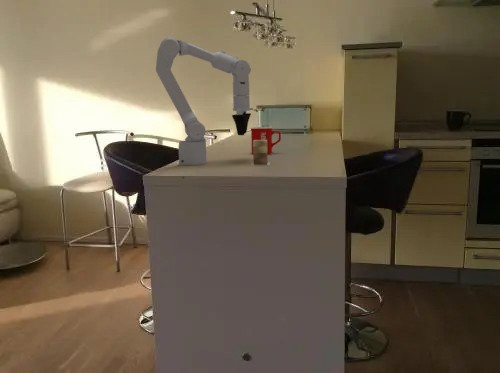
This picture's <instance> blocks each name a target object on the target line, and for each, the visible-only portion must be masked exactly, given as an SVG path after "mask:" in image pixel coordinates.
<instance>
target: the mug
mask: <svg viewBox="0 0 500 373" xmlns="http://www.w3.org/2000/svg"><path fill="white" fill-rule="evenodd" d="M272 129H273V127H272V126H257V127H256V126H252V127H250V131H251V134H250V135H251V155H253V141H254V140H267V156H268V155H271V154H273V147H274V146H275V145H277V144H278V143H280V142H281V140H282V133H281V131H279V130H272ZM276 133H278V139H277V140H276V141H275V142H273V135H274V134H276Z"/></svg>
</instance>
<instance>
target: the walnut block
mask: <svg viewBox="0 0 500 373" xmlns="http://www.w3.org/2000/svg"><path fill="white" fill-rule="evenodd" d="M252 156H253V163H254V165H253V166H268V165H267V163H268V162H269V161H268V159H269V158H268V155H267V153H253V154H252Z"/></svg>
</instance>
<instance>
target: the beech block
mask: <svg viewBox="0 0 500 373" xmlns="http://www.w3.org/2000/svg"><path fill="white" fill-rule="evenodd" d="M253 153H267V140H254V141H253Z"/></svg>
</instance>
